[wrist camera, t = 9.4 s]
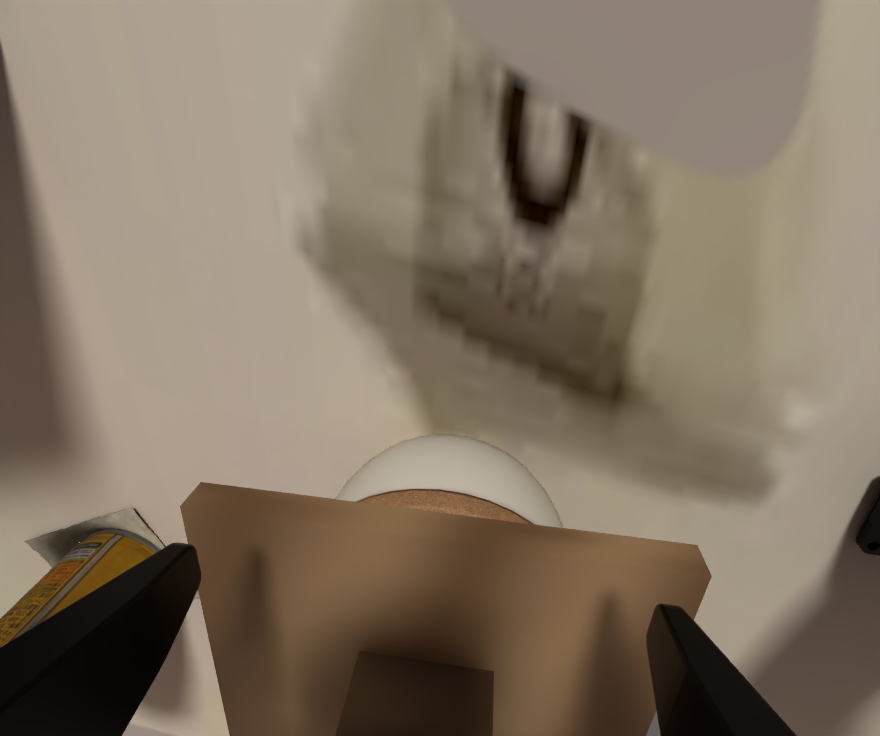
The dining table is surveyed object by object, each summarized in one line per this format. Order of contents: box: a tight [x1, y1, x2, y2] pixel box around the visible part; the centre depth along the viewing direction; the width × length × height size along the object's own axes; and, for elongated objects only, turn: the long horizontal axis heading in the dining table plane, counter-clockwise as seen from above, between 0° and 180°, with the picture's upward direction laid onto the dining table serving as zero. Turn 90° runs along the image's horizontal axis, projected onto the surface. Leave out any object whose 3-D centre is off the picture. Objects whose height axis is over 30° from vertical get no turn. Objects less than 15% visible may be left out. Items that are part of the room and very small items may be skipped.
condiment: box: [0, 508, 200, 647], centre depth 25 cm, size 7×8×12 cm
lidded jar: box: [335, 434, 563, 528], centre depth 21 cm, size 11×11×9 cm
